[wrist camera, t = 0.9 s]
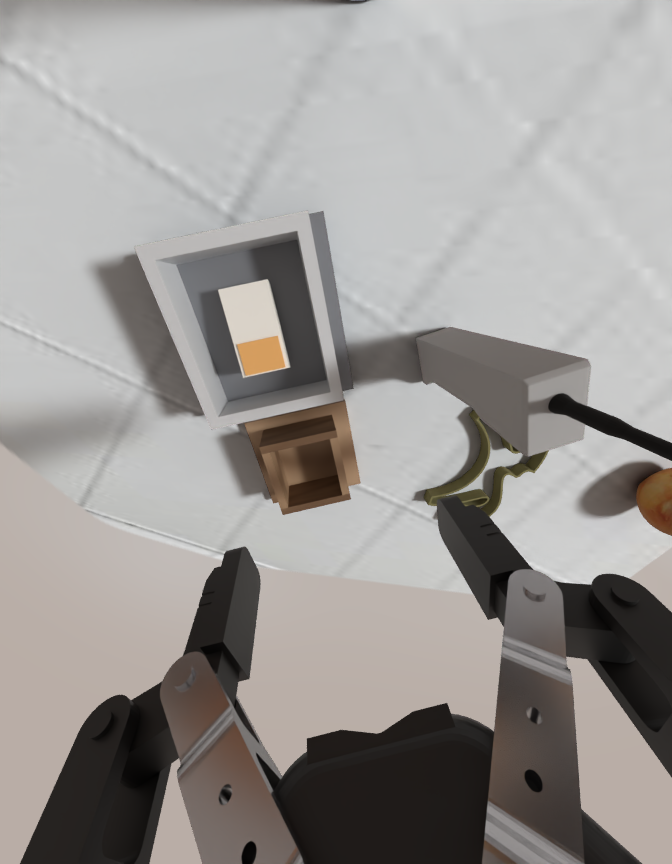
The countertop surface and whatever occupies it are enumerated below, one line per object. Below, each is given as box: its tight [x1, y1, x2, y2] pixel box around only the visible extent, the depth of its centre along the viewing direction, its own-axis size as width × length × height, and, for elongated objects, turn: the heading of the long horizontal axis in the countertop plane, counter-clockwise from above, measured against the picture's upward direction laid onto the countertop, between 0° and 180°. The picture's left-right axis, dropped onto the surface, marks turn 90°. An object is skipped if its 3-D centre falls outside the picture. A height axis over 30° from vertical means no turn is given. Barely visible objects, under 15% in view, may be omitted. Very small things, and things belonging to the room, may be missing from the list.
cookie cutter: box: [424, 410, 549, 517], centre depth 39 cm, size 18×12×2 cm, turn 159°
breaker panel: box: [134, 210, 354, 430], centre depth 26 cm, size 15×15×6 cm
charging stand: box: [244, 400, 360, 515], centre depth 33 cm, size 11×11×5 cm
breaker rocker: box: [218, 279, 290, 378], centre depth 25 cm, size 7×4×2 cm, turn 11°
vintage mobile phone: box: [416, 327, 672, 461], centre depth 21 cm, size 4×5×25 cm
